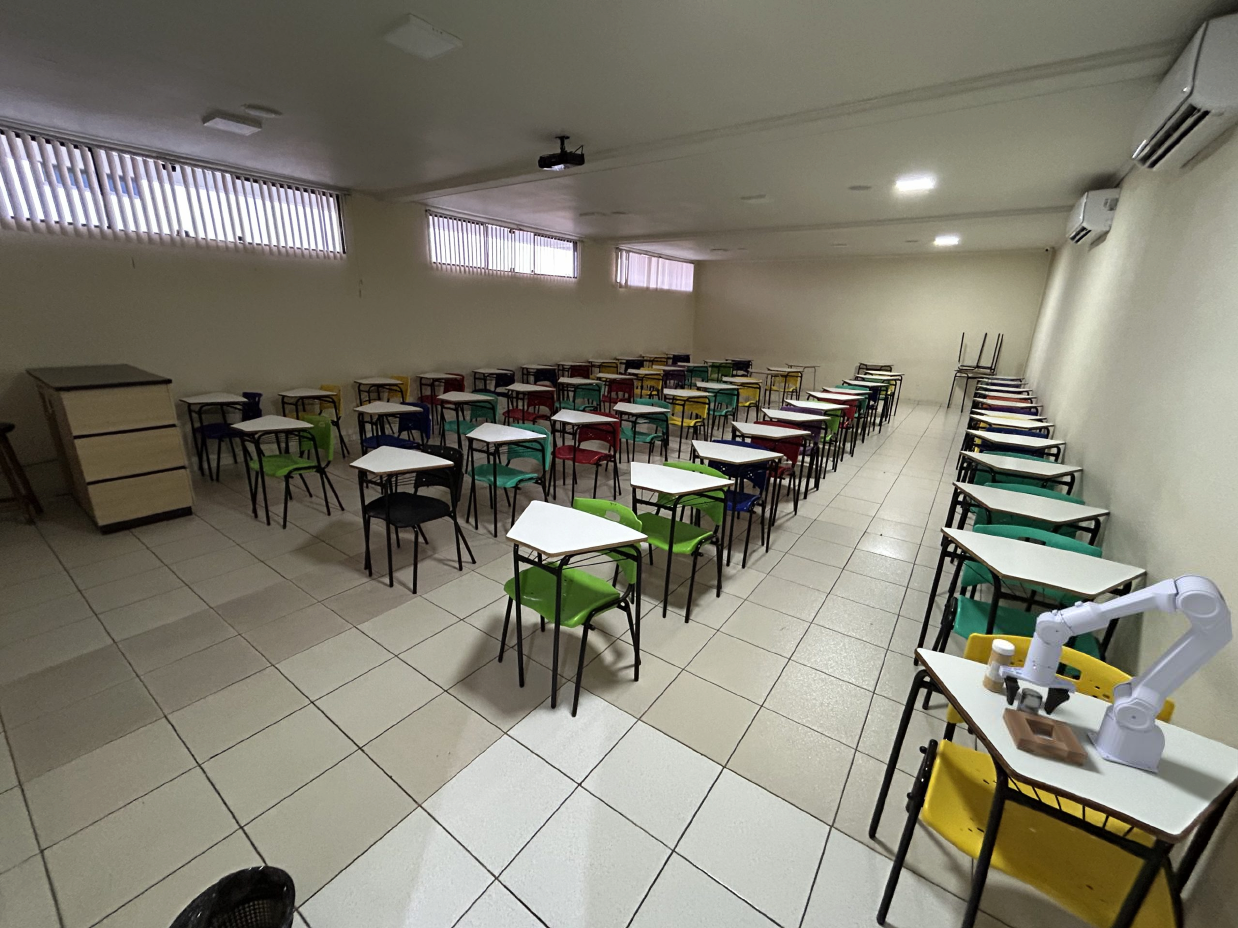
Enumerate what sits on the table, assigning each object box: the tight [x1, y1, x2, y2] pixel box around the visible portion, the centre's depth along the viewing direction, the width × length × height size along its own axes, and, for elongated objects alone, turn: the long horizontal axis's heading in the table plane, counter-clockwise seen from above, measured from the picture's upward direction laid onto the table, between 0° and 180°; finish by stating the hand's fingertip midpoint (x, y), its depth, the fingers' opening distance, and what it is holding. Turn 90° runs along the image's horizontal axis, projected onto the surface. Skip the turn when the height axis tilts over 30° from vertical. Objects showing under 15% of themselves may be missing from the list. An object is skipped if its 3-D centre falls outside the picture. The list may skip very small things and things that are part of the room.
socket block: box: [1002, 707, 1088, 767], centre depth 115 cm, size 12×10×3 cm
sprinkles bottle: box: [982, 638, 1016, 693], centre depth 131 cm, size 5×5×14 cm
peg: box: [1015, 687, 1044, 716], centre depth 123 cm, size 4×4×6 cm
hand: (1027, 707), depth 123 cm, fingers open, 7 cm apart
